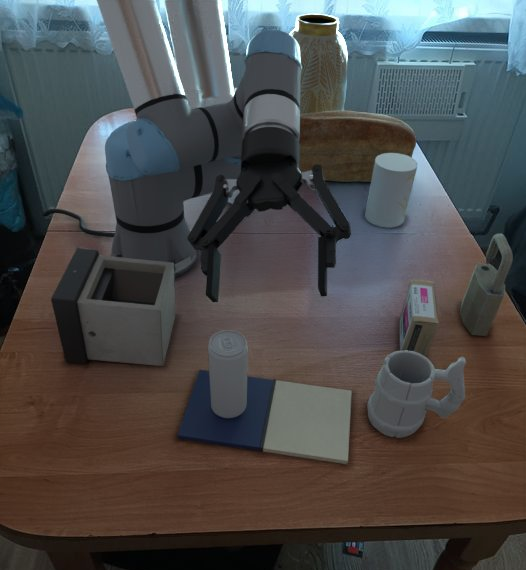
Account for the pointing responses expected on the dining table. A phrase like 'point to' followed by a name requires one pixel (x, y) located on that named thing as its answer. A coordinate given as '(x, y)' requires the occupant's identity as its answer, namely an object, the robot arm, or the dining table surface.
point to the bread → (350, 142)
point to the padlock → (486, 289)
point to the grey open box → (115, 309)
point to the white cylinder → (390, 189)
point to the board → (275, 419)
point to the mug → (412, 393)
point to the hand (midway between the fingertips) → (265, 296)
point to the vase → (321, 63)
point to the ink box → (419, 318)
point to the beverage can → (228, 373)
